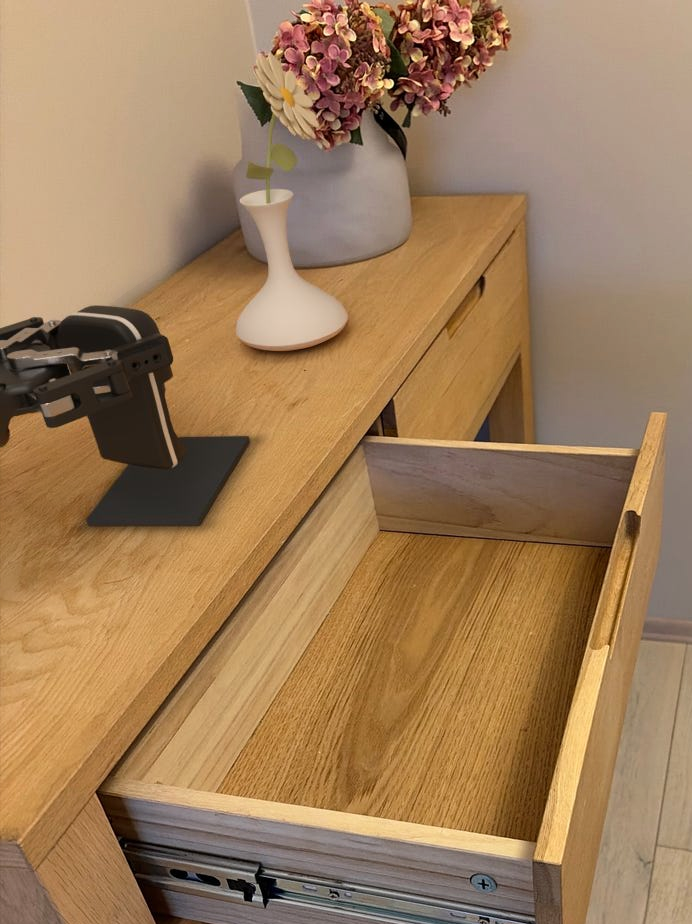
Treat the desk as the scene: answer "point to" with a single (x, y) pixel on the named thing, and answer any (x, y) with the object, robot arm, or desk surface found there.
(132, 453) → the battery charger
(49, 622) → the desk surface
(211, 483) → the mat
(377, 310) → the desk surface
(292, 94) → the flower in vase
